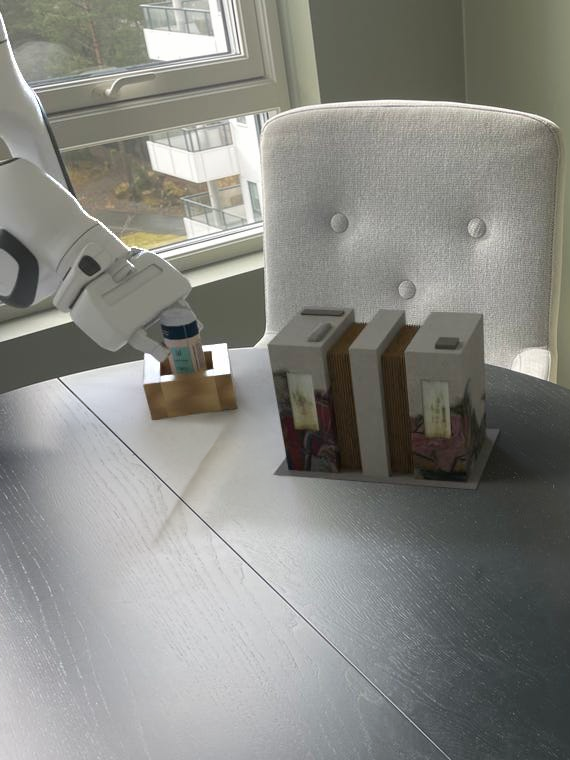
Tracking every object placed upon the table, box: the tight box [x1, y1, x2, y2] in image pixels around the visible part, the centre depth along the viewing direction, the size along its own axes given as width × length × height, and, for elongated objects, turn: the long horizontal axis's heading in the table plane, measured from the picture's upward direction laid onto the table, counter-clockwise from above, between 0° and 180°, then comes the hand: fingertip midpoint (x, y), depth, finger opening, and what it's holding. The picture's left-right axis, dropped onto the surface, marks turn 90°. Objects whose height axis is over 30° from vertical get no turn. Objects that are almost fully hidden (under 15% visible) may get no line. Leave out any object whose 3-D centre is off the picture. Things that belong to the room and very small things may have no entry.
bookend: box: [267, 305, 501, 491], centre depth 116 cm, size 16×25×16 cm, turn 79°
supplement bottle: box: [159, 307, 207, 375], centre depth 132 cm, size 5×5×12 cm
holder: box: [142, 342, 238, 420], centre depth 134 cm, size 11×11×5 cm
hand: (183, 344), depth 131 cm, fingers open, 8 cm apart
